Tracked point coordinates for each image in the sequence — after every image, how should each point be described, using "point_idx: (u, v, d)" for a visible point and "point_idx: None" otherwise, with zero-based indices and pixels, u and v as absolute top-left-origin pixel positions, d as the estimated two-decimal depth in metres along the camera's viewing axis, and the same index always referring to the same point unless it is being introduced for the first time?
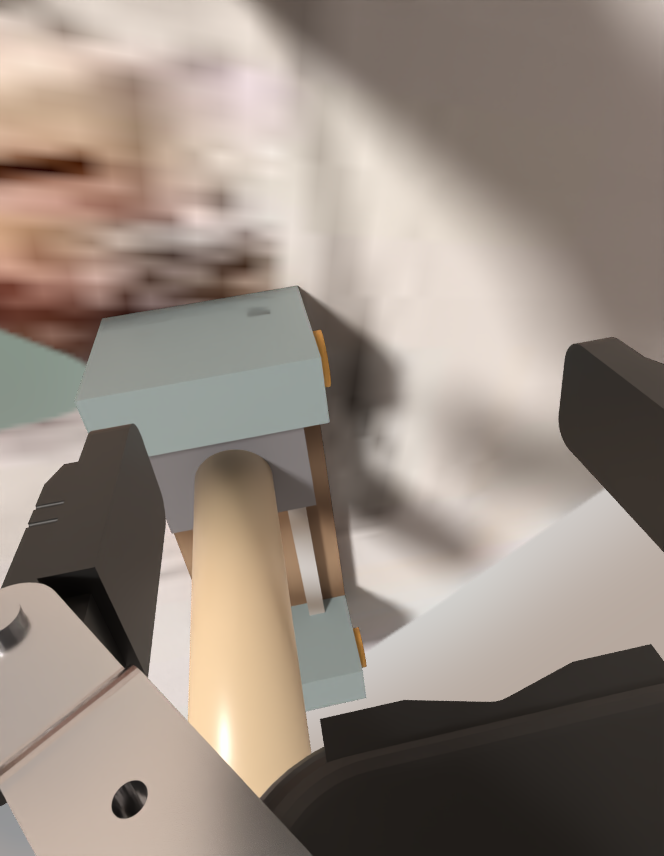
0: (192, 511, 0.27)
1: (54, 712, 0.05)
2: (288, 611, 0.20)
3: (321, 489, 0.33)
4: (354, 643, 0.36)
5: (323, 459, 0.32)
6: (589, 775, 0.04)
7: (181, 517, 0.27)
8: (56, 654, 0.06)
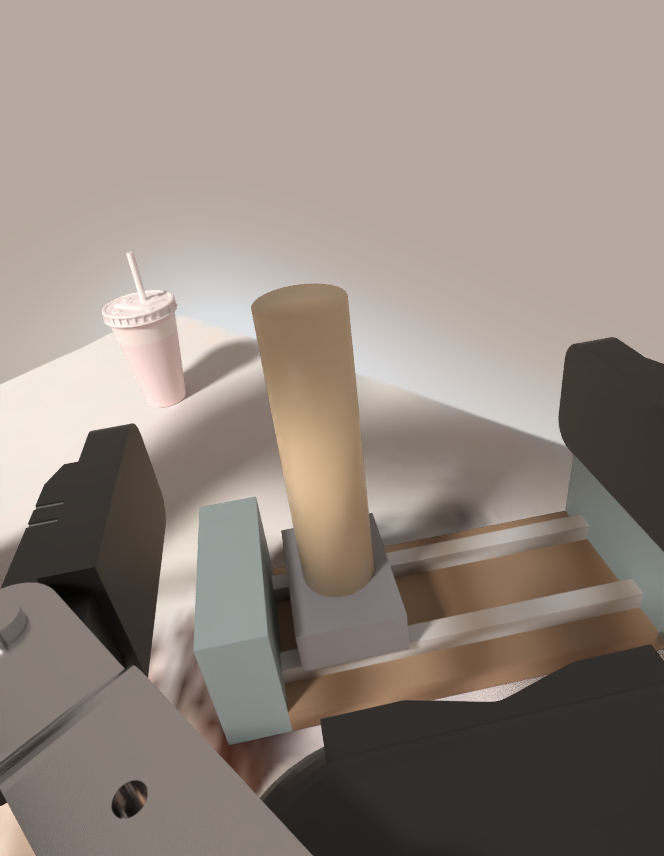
0: (375, 598, 0.27)
1: (54, 712, 0.05)
2: None
3: (414, 546, 0.34)
4: (573, 463, 0.33)
5: None
6: (589, 775, 0.04)
7: (383, 607, 0.26)
8: (57, 654, 0.06)
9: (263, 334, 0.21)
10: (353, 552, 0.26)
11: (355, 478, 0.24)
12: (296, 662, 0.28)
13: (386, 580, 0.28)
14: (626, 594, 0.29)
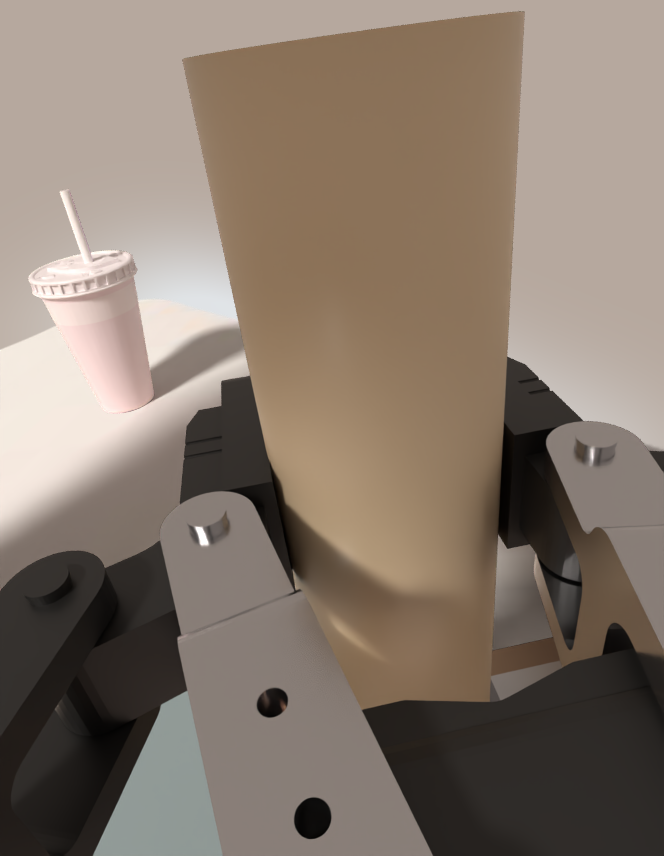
0: None
1: (232, 607, 0.06)
2: None
3: (523, 656, 0.19)
4: None
5: None
6: (589, 774, 0.04)
7: None
8: (269, 541, 0.07)
9: (222, 133, 0.06)
10: None
11: (485, 593, 0.09)
12: None
13: None
14: None
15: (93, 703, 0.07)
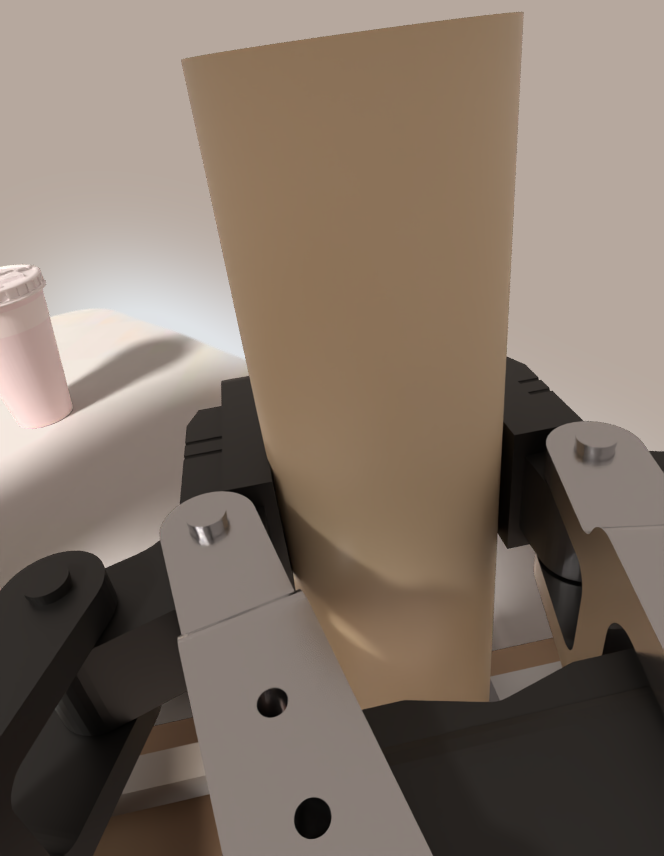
0: None
1: (232, 607, 0.06)
2: None
3: None
4: None
5: None
6: (589, 775, 0.04)
7: None
8: (269, 541, 0.07)
9: (221, 134, 0.06)
10: None
11: (484, 594, 0.09)
12: None
13: None
14: None
15: (93, 703, 0.07)
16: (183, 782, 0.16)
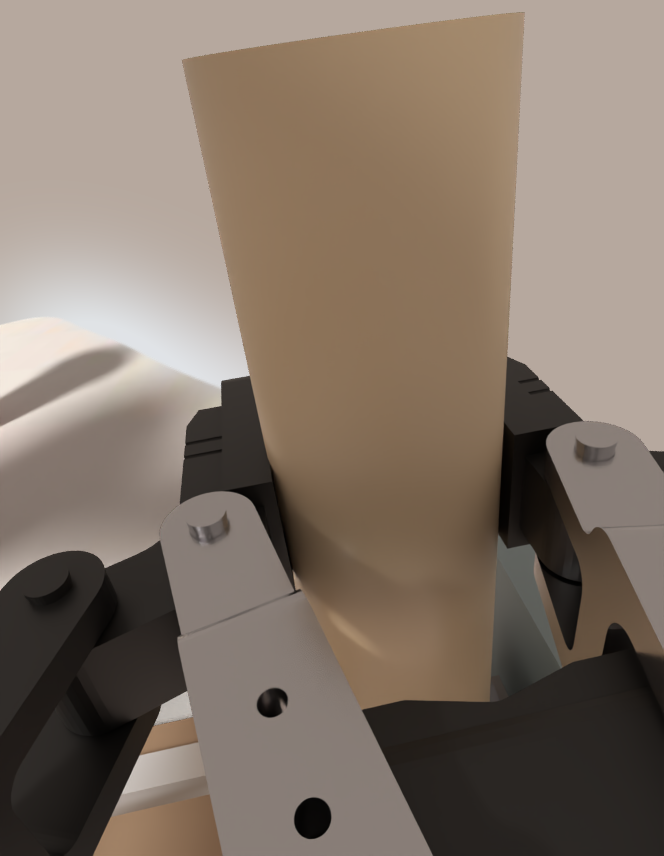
0: None
1: (232, 607, 0.06)
2: None
3: (193, 730, 0.18)
4: None
5: None
6: (588, 775, 0.04)
7: None
8: (269, 541, 0.07)
9: (221, 135, 0.06)
10: None
11: (485, 594, 0.09)
12: None
13: None
14: None
15: (93, 703, 0.07)
16: None
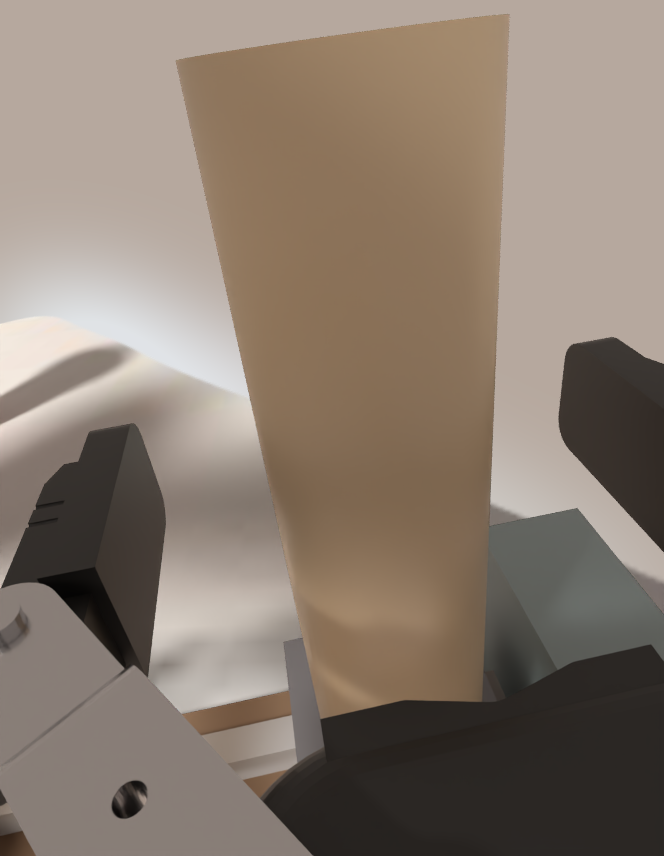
0: None
1: (54, 712, 0.05)
2: None
3: None
4: None
5: None
6: (589, 775, 0.04)
7: None
8: (56, 653, 0.06)
9: (214, 133, 0.06)
10: None
11: (476, 586, 0.09)
12: None
13: None
14: None
15: None
16: None
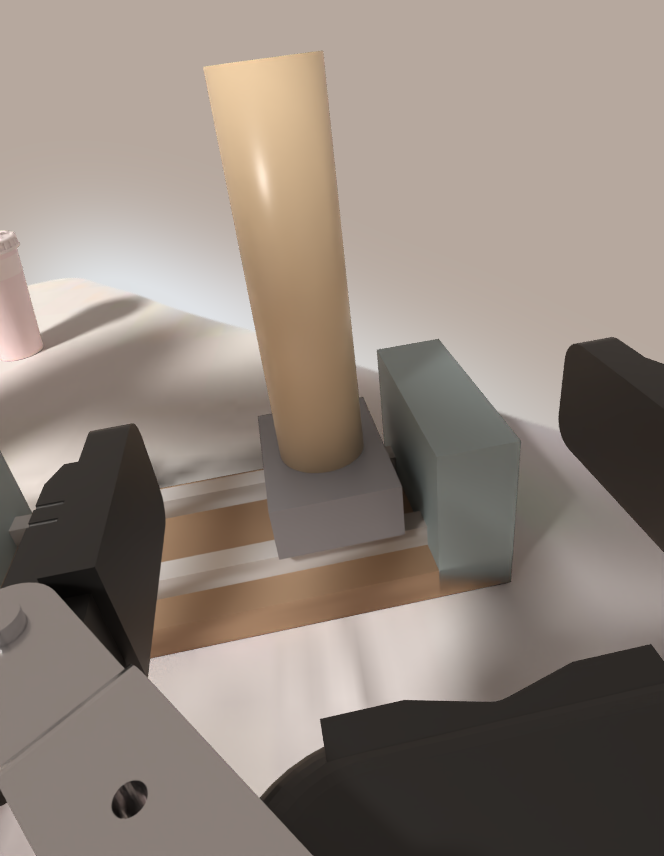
0: (365, 472, 0.23)
1: (54, 712, 0.05)
2: None
3: None
4: (380, 385, 0.28)
5: None
6: (588, 775, 0.04)
7: (374, 479, 0.22)
8: (56, 653, 0.06)
9: (217, 92, 0.16)
10: (337, 413, 0.22)
11: (338, 309, 0.20)
12: None
13: (378, 456, 0.23)
14: (407, 528, 0.24)
15: None
16: None
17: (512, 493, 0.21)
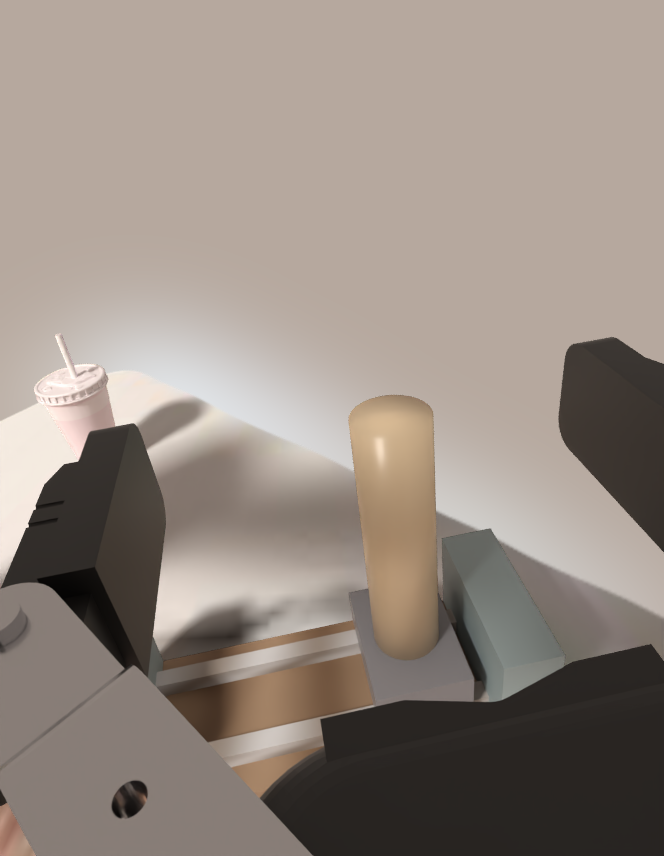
0: (443, 661, 0.30)
1: (54, 712, 0.05)
2: None
3: (297, 638, 0.37)
4: (442, 561, 0.36)
5: (264, 640, 0.37)
6: (589, 775, 0.04)
7: (452, 670, 0.29)
8: (57, 654, 0.06)
9: (361, 447, 0.24)
10: (425, 623, 0.29)
11: (431, 560, 0.27)
12: None
13: (452, 644, 0.31)
14: None
15: None
16: (213, 676, 0.34)
17: None
